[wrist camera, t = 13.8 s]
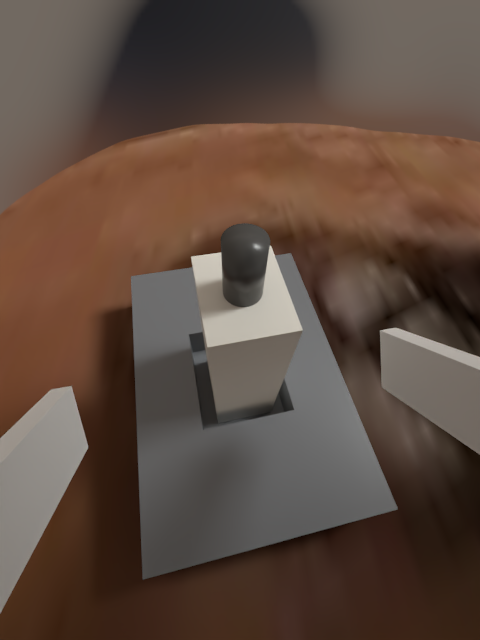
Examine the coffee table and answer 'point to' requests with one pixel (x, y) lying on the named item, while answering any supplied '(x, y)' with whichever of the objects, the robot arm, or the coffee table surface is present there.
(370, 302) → the coffee table surface
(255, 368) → the plug
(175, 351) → the socket panel
